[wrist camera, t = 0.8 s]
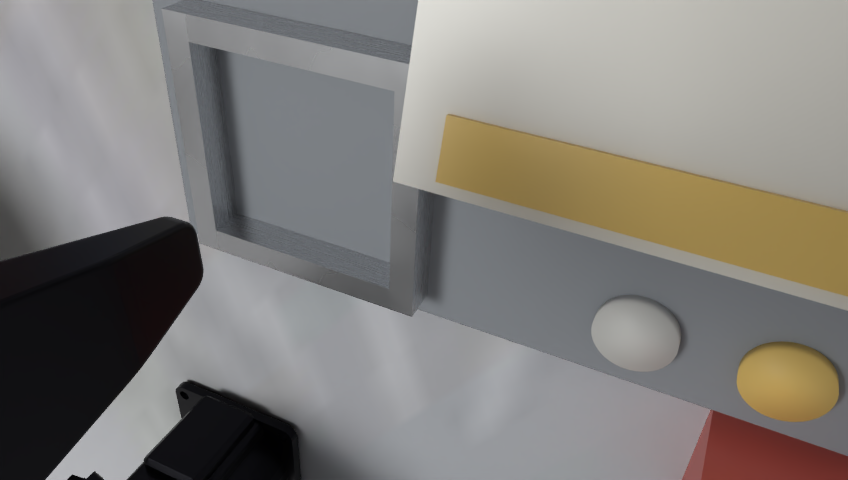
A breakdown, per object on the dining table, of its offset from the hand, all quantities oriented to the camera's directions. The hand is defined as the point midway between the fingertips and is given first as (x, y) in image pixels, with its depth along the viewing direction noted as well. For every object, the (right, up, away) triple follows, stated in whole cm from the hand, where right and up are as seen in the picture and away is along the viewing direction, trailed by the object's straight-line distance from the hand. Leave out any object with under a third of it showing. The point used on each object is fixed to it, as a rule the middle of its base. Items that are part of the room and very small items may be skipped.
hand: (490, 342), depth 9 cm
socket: (-4, +4, +13) cm, 15 cm away
